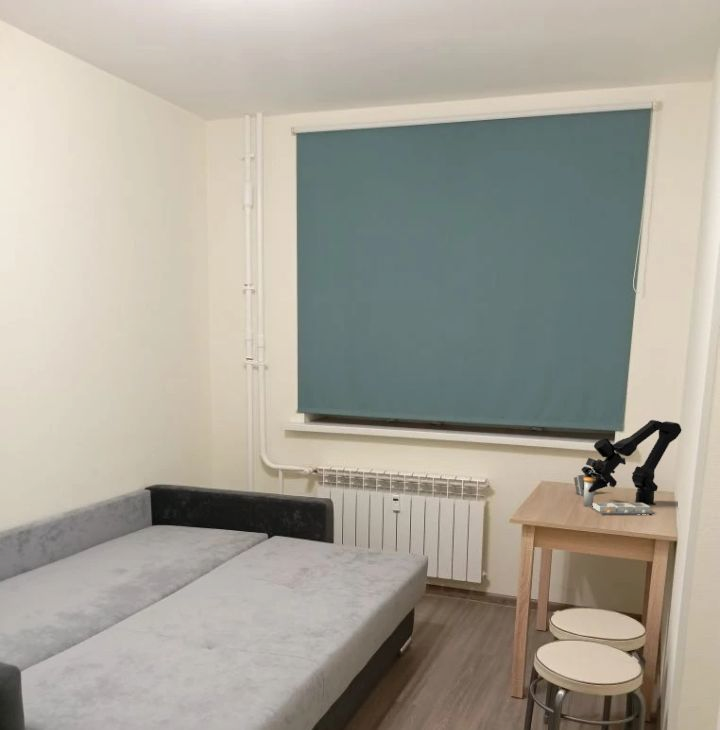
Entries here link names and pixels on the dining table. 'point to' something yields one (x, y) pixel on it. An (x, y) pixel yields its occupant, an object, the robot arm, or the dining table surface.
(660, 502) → the dining table surface
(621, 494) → the dining table surface
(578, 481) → the electrical switch
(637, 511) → the grey compartment tray
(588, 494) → the plug
